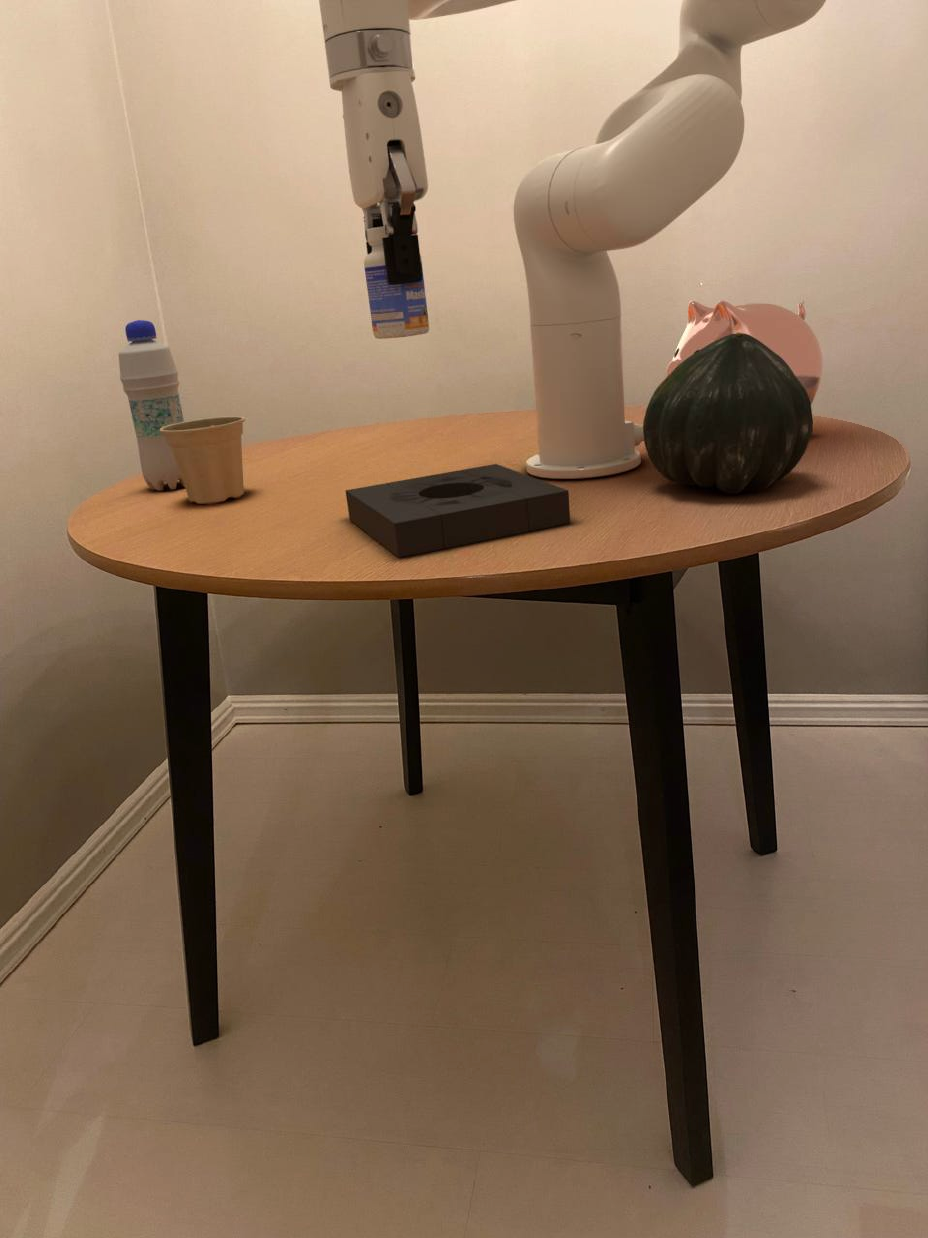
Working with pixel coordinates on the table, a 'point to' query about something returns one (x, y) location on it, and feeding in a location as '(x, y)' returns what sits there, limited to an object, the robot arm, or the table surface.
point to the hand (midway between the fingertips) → (396, 281)
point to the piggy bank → (756, 335)
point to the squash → (729, 418)
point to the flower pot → (208, 457)
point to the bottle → (151, 401)
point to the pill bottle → (393, 296)
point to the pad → (456, 508)
